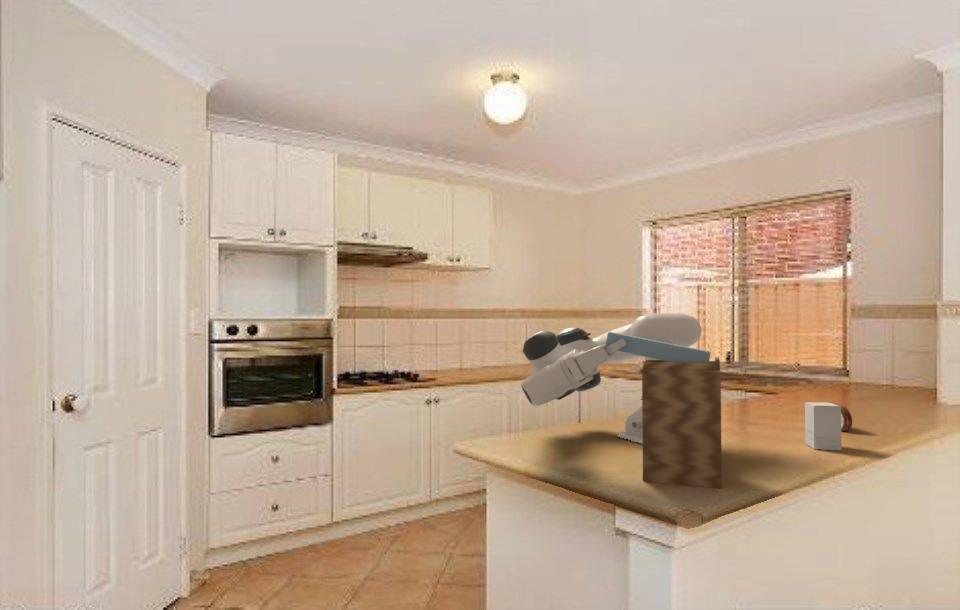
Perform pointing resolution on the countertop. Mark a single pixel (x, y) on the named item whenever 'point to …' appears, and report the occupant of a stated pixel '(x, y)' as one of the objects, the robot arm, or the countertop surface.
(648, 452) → the stand
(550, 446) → the countertop surface
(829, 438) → the supplement box
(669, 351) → the bar
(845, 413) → the brown curved piece
